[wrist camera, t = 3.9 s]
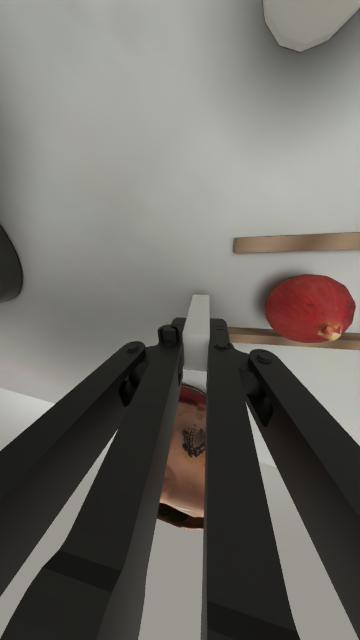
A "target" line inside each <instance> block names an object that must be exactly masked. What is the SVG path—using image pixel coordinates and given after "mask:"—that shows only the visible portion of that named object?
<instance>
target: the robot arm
mask: <svg viewBox="0 0 360 640" xmlns="http://www.w3.org/2000/svg"><path fill="white" fill-rule="evenodd" d="M21 283H22V275H21V269H20V265H19V261H18V258H17V256H16V253H15V251H14V249H13V247H12V245H11V243H10V241H9V239H8V238H7V236H6V234H5V233H4V231H3V230H2V228H1V227H0V303H1V302H5V301H8V300H11V299H13V298H14V297H15V296H16V295H17V294H18V293H19V291H20V288H21ZM158 337H159V343H158V345H156V346H150V347H145V345H144V344H143V343H142V342H139V341H134V342H130V343H127V344H126V345H124V346H123V347H122V348H120V349H119V350H118V351H117V352H116V353H115V354H113V355H112V356H111V357H110V358H109V359H108V360H106V361H105V362H104V363H103V364H102V365H101V366H99V367H98V368H97V369H96V370H95V371H94V372H92V373H91V374H90V375H89V376H88V377H87V378H85V379H84V380H83V381H82V382H81V383H79V384H78V385H77V386H76V387H75V388H74V389H72V390H71V391H70V392H69V393H68V394H67V395H65V396H64V397H63V398H62V399H61V400H60V401H58V402H57V403H56V404H55V405H54V406H53V407H51V408H50V409H49V410H48V411H47V412H46V413H45V414H43V415H42V416H41V417H40V418H39V419H37V420H36V421H35V422H34V423H33V424H32V425H30V427H28V428H27V429H26V430H24V431H23V432H22V433H21V434H20V435H19V436H17V438H15V439H14V440H13V441H12V442H10V443H9V444H8V445H7V446H6V447H5V448H3V449H2V450H1V451H0V596H1V595H2V594H3V592H4V591H5V589H6V588H7V586H8V585H9V584H10V582H11V581H12V579H13V578H14V576H15V575H16V574H17V572H18V571H19V569H20V568H21V566H22V565H23V563H24V562H25V561H26V559H27V558H28V556H29V555H30V554H31V552H32V551H33V549H34V548H35V546H36V545H37V544H38V542H39V541H40V539H41V538H42V536H43V535H44V534H45V532H46V531H47V529H48V528H49V526H50V525H51V524H52V522H53V521H54V519H55V518H56V517H57V515H58V514H59V512H60V511H61V509H62V508H63V506H64V505H65V504H66V502H67V501H68V499H69V498H70V497H71V495H72V494H73V492H74V491H75V489H76V488H77V487H78V485H79V484H80V482H81V481H82V479H83V478H84V477H85V475H86V474H87V472H88V471H89V469H90V468H91V467H92V465H93V464H94V462H95V461H96V459H97V458H98V457H99V455H100V454H101V452H102V451H103V449H104V448H105V447H106V445H107V444H108V442H109V441H110V439H111V438H112V437H113V435H114V434H115V432H116V431H117V429H118V431H117V433H116V435H115V437H114V439H113V441H112V443H111V445H110V448H109V450H108V452H107V454H106V456H105V458H104V461H103V463H102V465H101V467H100V469H99V471H98V474H97V475H96V478H95V480H94V482H93V484H92V486H91V488H90V490H89V492H88V494H87V497H86V499H85V501H84V503H83V505H82V507H81V510H80V512H79V514H78V516H77V518H76V520H75V522H74V524H73V526H72V529H71V531H70V532H69V534H68V536H67V538H66V540H65V542H64V543H63V545H62V546H61V548H60V549H59V550H58V551H57V552H56V553H55V555H54V556H53V557H52V558H51V559H50V560H49V561H48V562H47V563H46V564H45V565H44V566H43V567H42V569H41V570H40V572H39V573H38V574H37V576H36V577H35V579H34V580H33V581H32V583H31V585H30V586H29V587H28V589H27V591H26V592H25V594H24V596H23V598H22V600H21V601H20V603H19V605H18V606H17V608H16V610H15V612H14V614H13V616H12V617H11V619H10V621H9V623H8V625H7V627H6V629H5V631H4V633H3V635H2V636H1V639H0V640H138V636H139V631H140V624H141V618H142V612H143V605H144V597H145V584H146V575H147V568H148V562H149V557H150V551H151V546H152V541H153V535H154V530H155V524H156V519H157V514H158V508H159V503H160V497H161V492H162V486H163V481H164V476H165V470H166V465H167V459H168V454H169V449H170V443H171V438H172V432H173V427H174V422H175V416H176V411H177V405H178V400H179V394H180V389H181V384H182V378H183V366H184V369H188V370H199V371H207V383H206V387H207V392H206V440H205V487H204V536H203V583H202V614H201V640H300V638H299V635H298V633H297V630H296V626H295V623H294V620H293V617H292V613H291V609H290V605H289V601H288V596H287V592H286V587H285V583H284V579H283V573H282V569H281V564H280V559H279V555H278V551H277V546H276V541H275V536H274V531H273V527H272V522H271V518H270V513H269V508H268V504H267V499H266V494H265V490H264V485H263V481H262V476H261V472H260V467H259V462H258V457H257V453H256V448H255V443H254V439H253V434H252V430H251V425H250V420H249V416H248V411H247V406H246V403H247V405H248V407H249V409H250V412H251V414H252V416H253V418H254V420H255V422H256V424H257V426H258V428H259V430H260V433H261V435H262V437H263V439H264V441H265V443H266V445H267V447H268V449H269V451H270V454H271V456H272V458H273V460H274V462H275V464H276V466H277V468H278V470H279V472H280V474H281V477H282V479H283V481H284V483H285V485H286V487H287V489H288V491H289V493H290V496H291V498H292V500H293V501H294V504H295V506H296V508H297V510H298V512H299V514H300V516H301V518H302V521H303V523H304V525H305V527H306V529H307V531H308V533H309V535H310V537H311V540H312V542H313V544H314V546H315V548H316V550H317V552H318V554H319V556H320V558H321V561H322V563H323V565H324V567H325V569H326V571H327V573H328V575H329V577H330V580H331V581H332V584H333V586H334V588H335V590H336V592H337V594H338V596H339V598H340V600H341V603H342V605H343V607H344V609H345V611H346V613H347V615H348V617H349V619H350V622H351V623H352V626H353V628H354V630H355V632H356V634H357V636H358V638H359V640H360V446H359V445H358V444H357V443H356V442H355V441H354V439H353V438H352V437H351V436H350V435H349V434H348V433H347V432H346V431H345V430H344V429H343V428H342V426H341V425H340V424H339V423H338V422H337V421H336V420H335V419H334V418H333V417H332V416H331V415H330V413H329V412H328V411H327V410H326V409H325V408H324V407H323V406H322V405H321V404H320V403H319V401H318V400H317V399H316V398H315V397H314V396H313V395H312V394H311V393H310V392H309V391H308V390H307V388H306V387H305V386H304V385H303V384H302V383H301V382H300V381H299V380H298V379H297V378H296V377H295V375H294V374H293V373H292V372H291V371H290V370H289V369H288V368H287V367H286V366H285V365H284V364H283V362H282V361H281V360H280V359H279V358H278V357H277V356H276V355H274V354H273V353H271V352H269V351H267V350H263V349H255V350H252V351H251V352H250V354H247V353H243V352H240V351H238V350H236V349H235V348H234V347H233V345H232V343H230V339H229V334H228V329H227V324H226V322H225V321H224V320H223V319H212V318H210V295H193V297H192V301H191V304H190V308H189V312H188V315H187V318H175V319H174V320H173V321H172V323H171V325H164V326H162V327H160V328H159V329H158ZM245 401H246V402H245Z"/></svg>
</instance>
